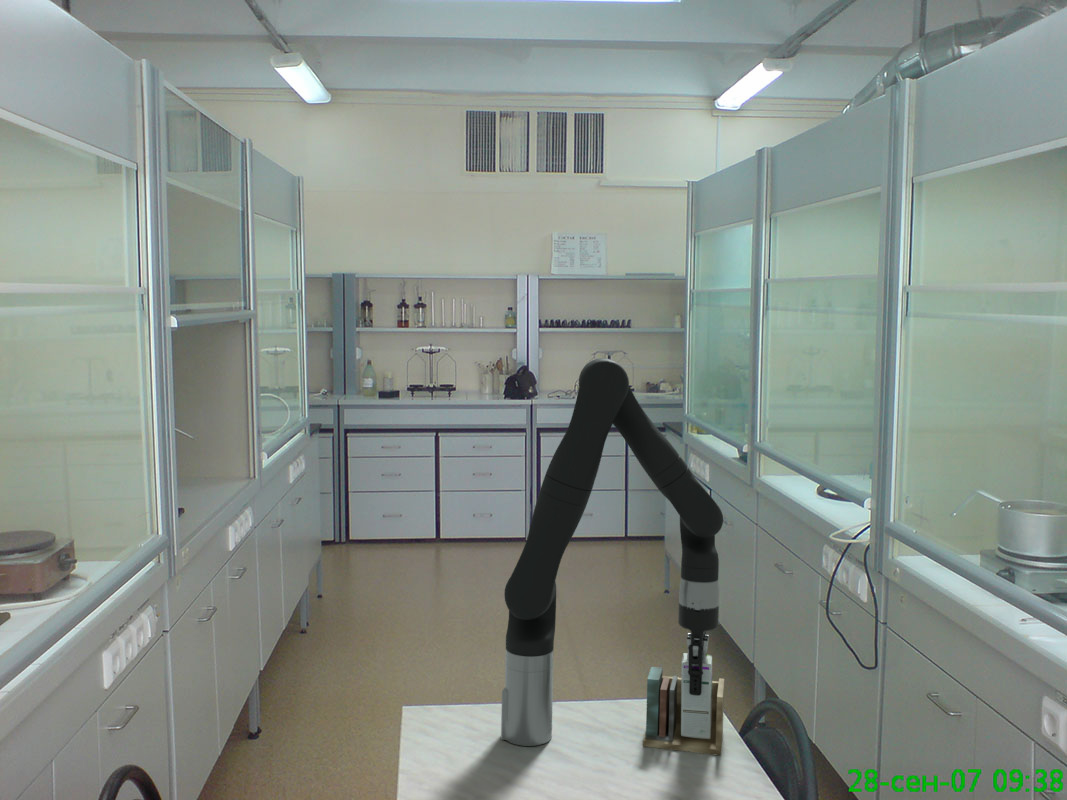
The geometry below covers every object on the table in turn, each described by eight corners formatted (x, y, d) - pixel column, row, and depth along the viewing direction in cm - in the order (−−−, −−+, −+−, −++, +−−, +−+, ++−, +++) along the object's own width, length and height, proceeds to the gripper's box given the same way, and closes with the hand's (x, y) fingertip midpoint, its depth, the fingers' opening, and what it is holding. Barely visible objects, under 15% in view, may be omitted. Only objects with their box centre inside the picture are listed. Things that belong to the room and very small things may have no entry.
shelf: (642, 746, 172) (644, 682, 172) (649, 723, 183) (651, 663, 182) (720, 755, 169) (722, 690, 168) (722, 731, 179) (724, 670, 179)
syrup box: (711, 739, 171) (713, 663, 170) (679, 736, 172) (681, 661, 171) (711, 727, 176) (713, 654, 176) (680, 724, 178) (682, 651, 177)
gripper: (681, 590, 181) (679, 673, 182) (675, 610, 167) (673, 700, 168) (720, 593, 179) (717, 677, 180) (717, 613, 165) (714, 704, 166)
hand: (696, 688), depth 174 cm, fingers closed on syrup box, 5 cm apart
